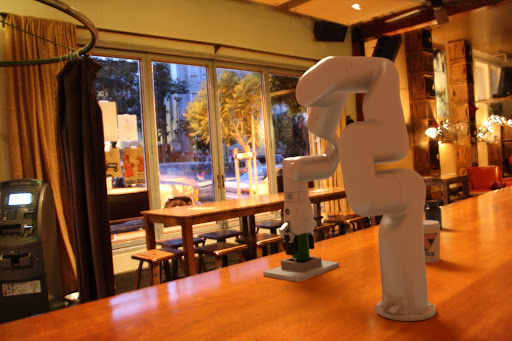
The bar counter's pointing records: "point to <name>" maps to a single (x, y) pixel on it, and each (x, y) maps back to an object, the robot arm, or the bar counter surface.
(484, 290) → the bar counter surface
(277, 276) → the holder board
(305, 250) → the beer can
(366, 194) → the robot arm
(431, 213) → the supplement bottle
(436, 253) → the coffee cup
